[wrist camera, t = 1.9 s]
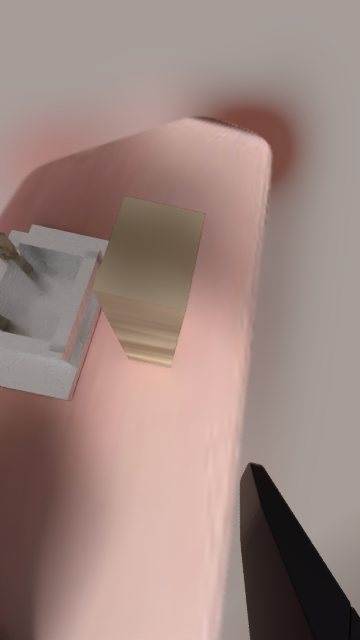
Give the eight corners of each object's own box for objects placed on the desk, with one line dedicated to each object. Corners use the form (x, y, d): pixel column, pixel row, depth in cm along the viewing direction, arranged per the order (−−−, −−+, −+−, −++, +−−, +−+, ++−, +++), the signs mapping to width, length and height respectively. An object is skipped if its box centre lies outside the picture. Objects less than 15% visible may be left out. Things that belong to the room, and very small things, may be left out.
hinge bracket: (71, 400, 21) (45, 396, 16) (-32, 379, 20) (-88, 368, 16) (120, 249, 25) (111, 211, 21) (37, 231, 25) (9, 189, 21)
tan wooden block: (170, 367, 22) (185, 310, 10) (128, 358, 22) (91, 290, 10) (180, 317, 24) (205, 213, 11) (141, 309, 24) (124, 195, 11)
